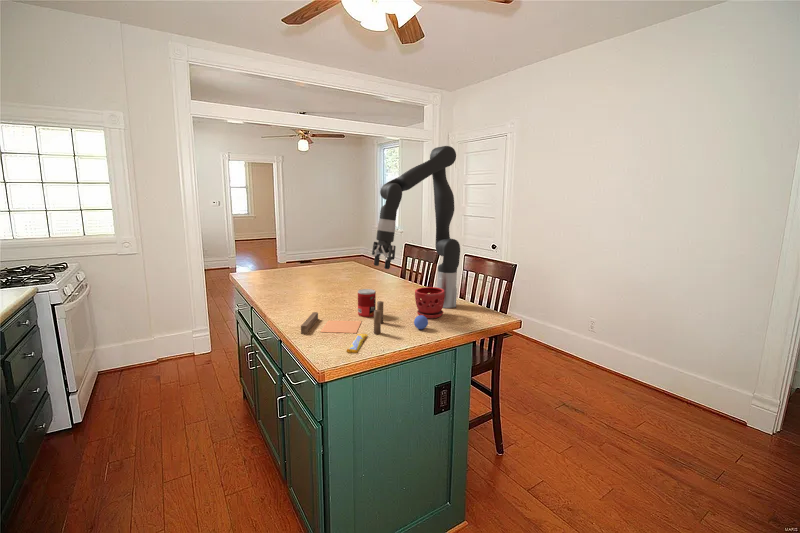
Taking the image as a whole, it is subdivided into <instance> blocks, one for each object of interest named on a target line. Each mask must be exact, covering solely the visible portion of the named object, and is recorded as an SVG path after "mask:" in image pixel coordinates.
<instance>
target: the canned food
mask: <svg viewBox="0 0 800 533" xmlns="http://www.w3.org/2000/svg"><path fill="white" fill-rule="evenodd" d="M376 297H377V294H376V290H375V289H371V288H363V289H361V288H360V289H359V290H357V314H358V316H359V317H362V318H372V317H374V310H377V301H376V299H377V298H376Z"/></svg>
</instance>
